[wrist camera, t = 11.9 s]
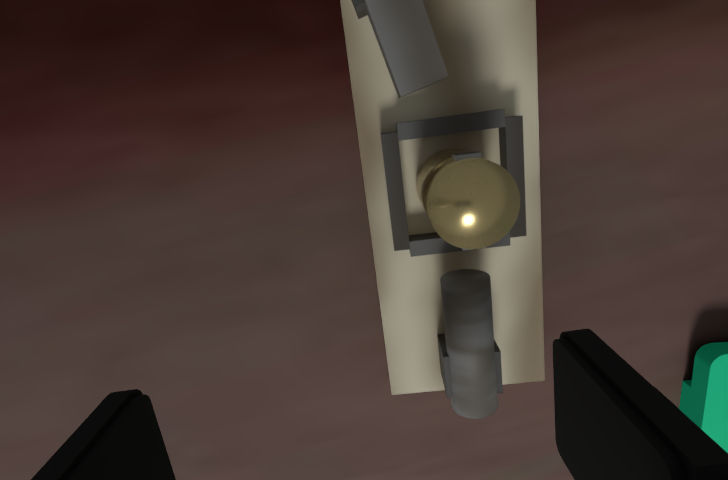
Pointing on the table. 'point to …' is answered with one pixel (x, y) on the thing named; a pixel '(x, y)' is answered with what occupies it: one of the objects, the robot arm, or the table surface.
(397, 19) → the stand
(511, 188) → the yellow round-topped cylinder
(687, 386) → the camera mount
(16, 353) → the table surface
